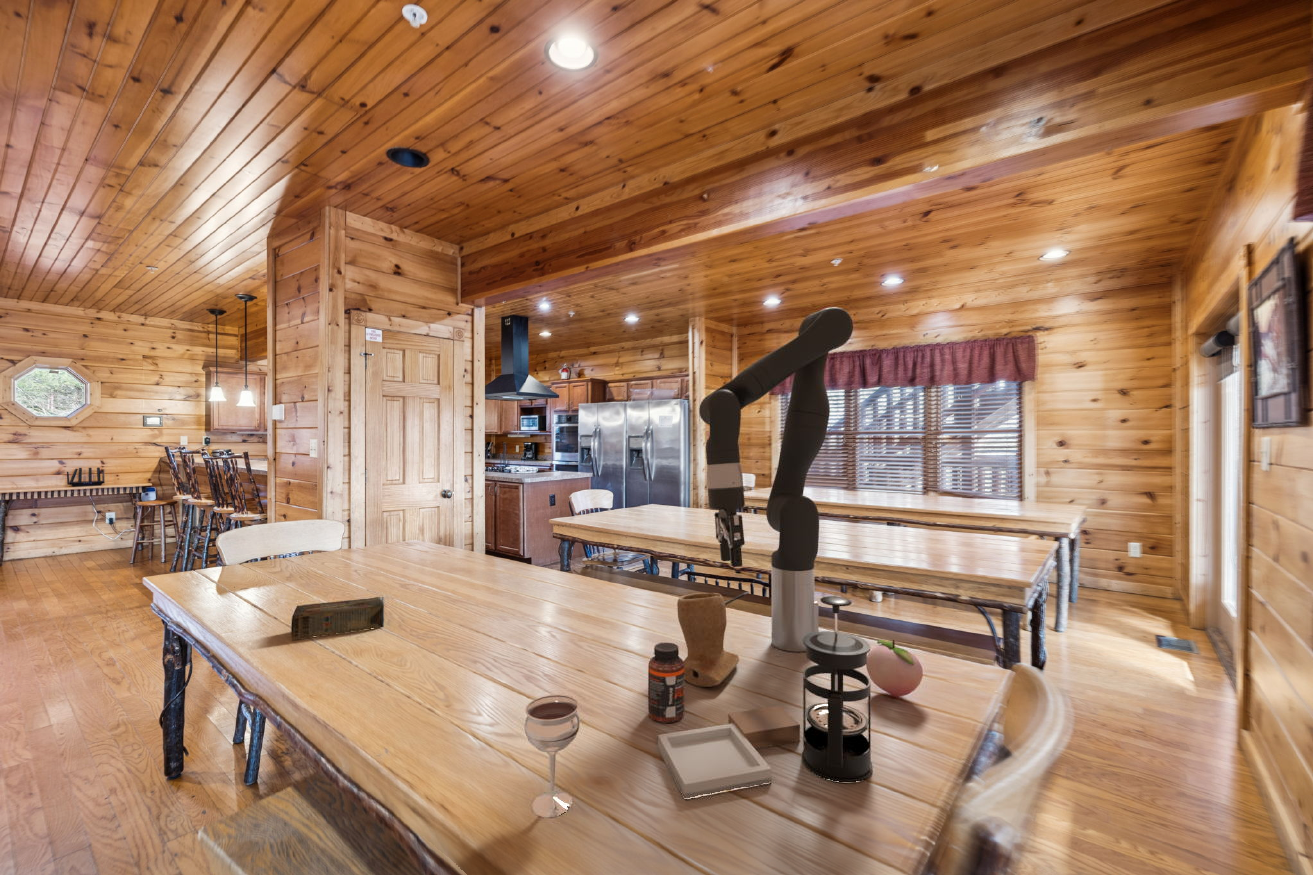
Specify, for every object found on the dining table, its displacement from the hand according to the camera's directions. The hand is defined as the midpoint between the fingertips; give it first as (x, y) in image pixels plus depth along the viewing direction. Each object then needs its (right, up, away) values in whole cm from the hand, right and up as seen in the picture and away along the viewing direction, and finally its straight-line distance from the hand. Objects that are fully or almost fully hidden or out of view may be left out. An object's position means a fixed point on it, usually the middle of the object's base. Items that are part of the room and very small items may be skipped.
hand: (731, 563), depth 114 cm
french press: (+9, -20, -38) cm, 44 cm away
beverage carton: (-91, -20, +17) cm, 95 cm away
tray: (-8, -19, -38) cm, 43 cm away
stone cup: (-6, -20, -7) cm, 22 cm away
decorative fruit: (+26, -20, -18) cm, 37 cm away
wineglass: (-29, -20, -46) cm, 57 cm away
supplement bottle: (-14, -20, -24) cm, 34 cm away
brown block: (+1, -19, -30) cm, 36 cm away
